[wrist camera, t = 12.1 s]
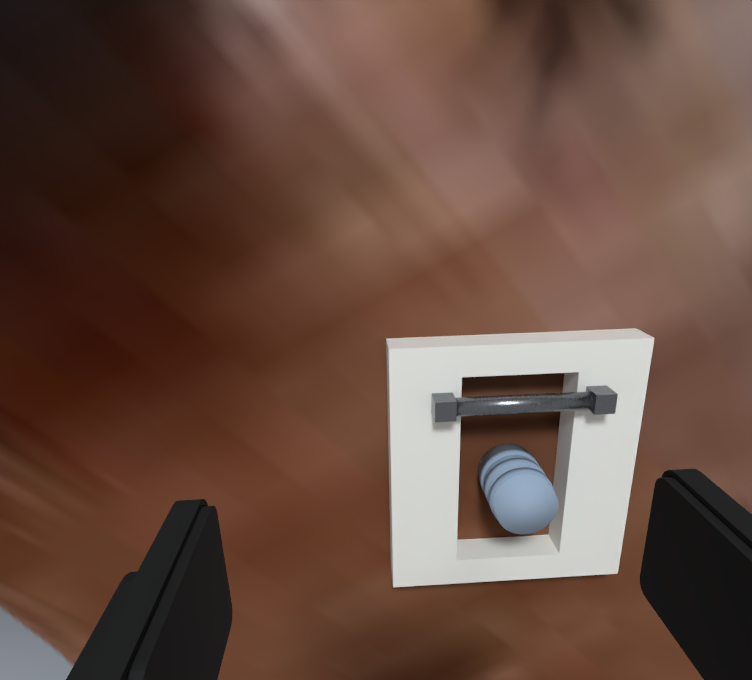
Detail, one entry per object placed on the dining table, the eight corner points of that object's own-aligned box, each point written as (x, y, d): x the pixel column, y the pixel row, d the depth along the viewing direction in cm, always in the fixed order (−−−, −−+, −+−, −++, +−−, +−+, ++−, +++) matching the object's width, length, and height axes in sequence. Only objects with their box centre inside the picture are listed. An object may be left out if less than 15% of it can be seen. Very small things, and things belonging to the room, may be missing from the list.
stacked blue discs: (536, 440, 42) (562, 477, 37) (532, 491, 44) (557, 533, 39) (477, 444, 42) (495, 481, 37) (475, 494, 44) (492, 538, 39)
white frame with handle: (636, 328, 40) (654, 338, 37) (603, 553, 47) (617, 573, 44) (386, 338, 39) (388, 349, 37) (390, 566, 46) (393, 587, 43)
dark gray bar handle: (606, 385, 38) (617, 394, 37) (604, 403, 39) (615, 413, 37) (431, 392, 38) (435, 402, 36) (431, 412, 38) (434, 422, 37)
